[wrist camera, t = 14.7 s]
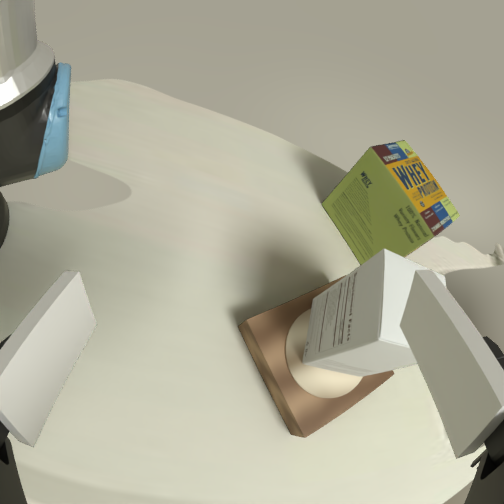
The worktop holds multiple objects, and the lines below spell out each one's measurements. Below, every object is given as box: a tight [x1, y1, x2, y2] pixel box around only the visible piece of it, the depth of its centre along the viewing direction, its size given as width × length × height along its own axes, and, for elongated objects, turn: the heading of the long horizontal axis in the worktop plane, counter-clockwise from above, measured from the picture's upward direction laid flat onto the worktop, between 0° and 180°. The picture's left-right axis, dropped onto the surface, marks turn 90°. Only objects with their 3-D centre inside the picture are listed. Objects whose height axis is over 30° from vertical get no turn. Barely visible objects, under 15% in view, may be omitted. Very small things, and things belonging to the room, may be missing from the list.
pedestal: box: [238, 275, 394, 438], centre depth 39 cm, size 16×16×4 cm
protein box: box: [322, 140, 460, 265], centre depth 47 cm, size 10×15×16 cm
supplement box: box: [302, 249, 446, 377], centre depth 32 cm, size 9×9×15 cm
